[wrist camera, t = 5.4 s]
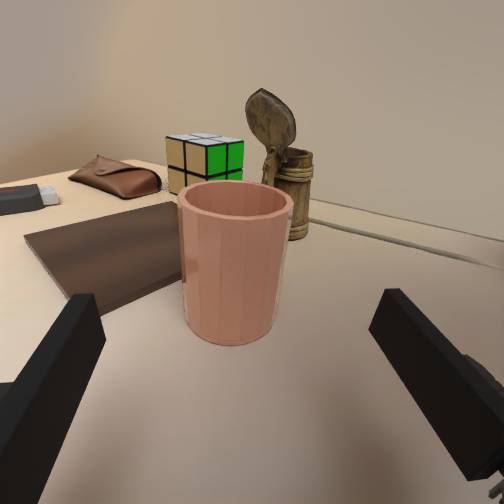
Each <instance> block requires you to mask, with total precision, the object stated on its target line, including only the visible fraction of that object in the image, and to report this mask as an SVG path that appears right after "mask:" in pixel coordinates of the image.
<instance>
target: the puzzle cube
mask: <svg viewBox="0 0 504 504" xmlns="http://www.w3.org/2000/svg"><path fill="white" fill-rule="evenodd" d="M165 139H166V153H167V164H168V165H169V166H168V180H169V191H170V192H171V193H173V194H176V195H178V194H179V192H180V191H181V189H183V188H185V187H187V186H189V185H192V184H195V183H200V182H205V181H212V180H239V181H242V174H243V170H242V169H241V168H242V167H243V156H244V141H243V140H239V139H234V138H229V137H222V136H218V135H213V134H208V133H198V134H188V135H186V134H185V135H173V136H167V137H166V138H165Z"/></svg>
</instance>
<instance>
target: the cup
mask: <svg viewBox="0 0 504 504" xmlns="http://www.w3.org/2000/svg"><path fill="white" fill-rule="evenodd" d="M177 205H178V221H179V237H180V252H181V268H182V283H183V299H184V311H185V316H186V321H187V323H188V325H189V327H190V328H191V330H192V331H193V332H194V333H195V334H197V335H198V336H199V337H201V338H202V339H204V340H206V341H209V342H212V343H215V344H220V345H229V346H231V345H242V344H246V343H250V342H253V341H255V340H257V339H259V338H260V337H262V336H263V335H265V334H266V333H267V332H268V331H269V329H270V328H271V326H272V325H273V322H274V319H275V315H276V311H277V305H278V299H279V293H280V287H281V281H282V275H283V269H284V262H285V256H286V250H287V244H288V238H289V232H290V226H291V220H292V213H293V207H294V202H293V200H292V198H291V196H289V195H288V194H286V193H285V192H283V191H281V190H280V189H277V188H274V187H271V186H268V185H265V184H260V183H255V182H249V181H239V180H212V181H205V182H200V183H195V184H192V185H189V186H187V187H185V188H183V189H181V191H180V192H179V194H178V196H177Z"/></svg>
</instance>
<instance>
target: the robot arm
mask: <svg viewBox="0 0 504 504" xmlns="http://www.w3.org/2000/svg"><path fill="white" fill-rule="evenodd" d="M368 330H369V331H370V333H371V334H372V336H373V337H374V339H375V340H376V342H377V344H378V345H379V347H380V348H381V350H382V351H383V353H384V354H385V356H386V357H387V359H388V360H389V362H390V363H391V365H392V366H393V368H394V369H395V371H396V373H397V374H398V376H399V377H400V379H401V380H402V382H403V383H404V385H405V386H406V388H407V389H408V391H409V392H410V394H411V395H412V397H413V398H414V400H415V402H416V403H417V405H418V406H419V408H420V409H421V411H422V412H423V414H424V415H425V417H426V418H427V420H428V421H429V423H430V424H431V426H432V428H433V429H434V431H435V432H436V434H437V435H438V437H439V438H440V440H441V441H442V443H443V444H444V446H445V447H446V449H447V450H448V452H449V453H450V455H451V457H452V458H453V460H454V461H455V463H456V464H457V466H458V467H459V469H460V470H461V472H462V473H463V475H464V476H465V478H466V479H467V481H474V480H481V479H488V478H489V477H490V476H491V475H493V474H494V473H495V472H496V471H497V470H499V472H500V473H501V474H502V476H503V477H504V387H503V386H502V385H501V384H500V383H499V382H498V381H495V378H494V377H493V376H492V375H491V374H490V373H489V372H488V371H487V370H486V369H485V368H484V367H483V366H482V365H481V364H479V363H478V362H477V361H475V360H474V359H472V358H471V357H470V356H468V355H462V354H461V353H460V352H459V351H458V350H457V349H456V348H455V347H454V345H453V344H452V343H451V342H450V341H449V340H448V339H447V338H446V337H445V336H444V335H443V334H442V333H441V332H440V331H439V330H438V329H437V328H436V326H435V325H434V324H433V323H432V322H431V321H430V320H429V319H428V318H427V317H426V316H425V315H424V314H423V313H422V312H421V311H420V310H419V309H418V307H417V306H416V305H415V304H414V303H413V302H412V301H411V300H410V299H409V298H408V297H407V296H406V295H405V294H404V293H403V292H402V291H401V290H400V288H395V289H385V290H384V293H383V295H382V298H381V300H380V302H379V305H378V307H377V310H376V312H375V315H374V317H373V319H372V322H371V324H370V327H369V329H368ZM105 342H106V337H105V333H104V330H103V326H102V322H101V318H100V315H99V311H98V307H97V303H96V300H95V296H94V293H78V294H73V295H72V297H71V298H70V300H69V301H68V303H67V304H66V306H65V307H64V309H63V310H62V311H61V313H60V314H59V316H58V317H57V319H56V320H55V322H54V323H53V325H52V326H51V328H50V329H49V331H48V332H47V334H46V335H45V337H44V338H43V340H42V341H41V343H40V344H39V345H38V347H37V348H36V350H35V351H34V353H33V354H32V356H31V357H30V359H29V360H28V362H27V363H26V365H25V366H24V368H23V369H22V371H21V372H20V374H19V375H18V377H17V378H16V380H15V381H14V382H7V383H0V504H38V502H39V499H40V497H41V494H42V492H43V490H44V487H45V485H46V483H47V480H48V478H49V475H50V473H51V471H52V468H53V466H54V463H55V461H56V459H57V456H58V454H59V452H60V449H61V447H62V444H63V442H64V440H65V437H66V435H67V432H68V430H69V428H70V425H71V423H72V421H73V418H74V416H75V413H76V411H77V409H78V406H79V404H80V401H81V399H82V397H83V394H84V392H85V390H86V387H87V385H88V382H89V380H90V378H91V375H92V373H93V371H94V368H95V366H96V363H97V361H98V359H99V356H100V354H101V351H102V349H103V347H104V344H105ZM500 493H502V498H501V499H500V501H499V503H500V504H504V479H503V480H502V481H501V482H500V483H498V484H497V485H496V486H495V487H493V488H492V489H491V490H490V491H489V497H490V498H491V499H494V498H495V497H496V496H498V495H499V494H500Z"/></svg>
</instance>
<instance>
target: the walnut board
mask: <svg viewBox="0 0 504 504" xmlns="http://www.w3.org/2000/svg"><path fill="white" fill-rule="evenodd" d="M24 238H25V241H26V243H27V244H28V246H29V247H30V249H31V250H32V251H33V253H34V254H35V255H36V257H37V258H38V260H39V261H40V262H41V264H42V265H43V266H44V268H45V269H46V271H47V272H48V273H49V275H50V276H51V277H52V279H53V280H54V282H55V283H56V284H57V286H58V287H59V288H60V290H61V291H62V293H63V294H64V295H65V297H66V298H67V300H68V301H69V300H70V298H71V297H72V295H73V294H78V293H94V296H95V300H96V303H97V307H98V311H99V315H100V316H101V315H103V314H106V313H108V312H110V311H112V310H114V309H117V308H119V307H121V306H123V305H125V304H127V303H130V302H132V301H134V300H136V299H138V298H140V297H143V296H145V295H147V294H149V293H151V292H153V291H156V290H158V289H160V288H162V287H164V286H166V285H169V284H171V283H173V282H175V281H177V280H179V279H182V268H181V252H180V237H179V221H178V205H177V204H176V203H174V202H172V201H169V202H165V203H160V204H156V205H152V206H147V207H143V208H139V209H135V210H130V211H126V212H122V213H117V214H113V215H109V216H104V217H100V218H96V219H91V220H87V221H83V222H78V223H74V224H70V225H66V226H61V227H57V228H53V229H48V230H44V231H40V232H35V233H31V234H27V235H24Z"/></svg>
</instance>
